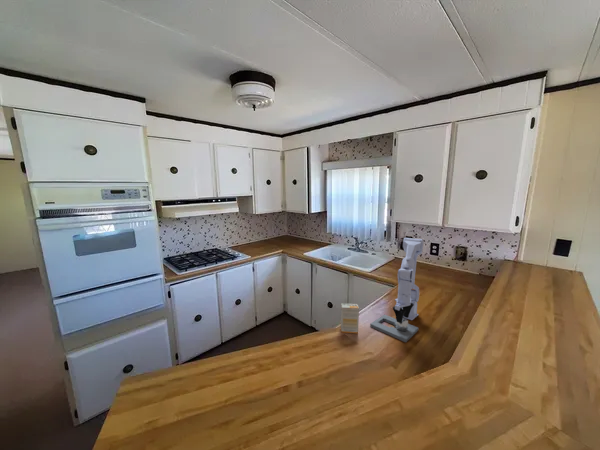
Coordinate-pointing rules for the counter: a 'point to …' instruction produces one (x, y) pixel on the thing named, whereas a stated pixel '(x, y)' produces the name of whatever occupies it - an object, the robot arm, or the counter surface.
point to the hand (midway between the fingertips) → (402, 319)
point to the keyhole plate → (391, 330)
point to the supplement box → (349, 318)
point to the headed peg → (402, 325)
